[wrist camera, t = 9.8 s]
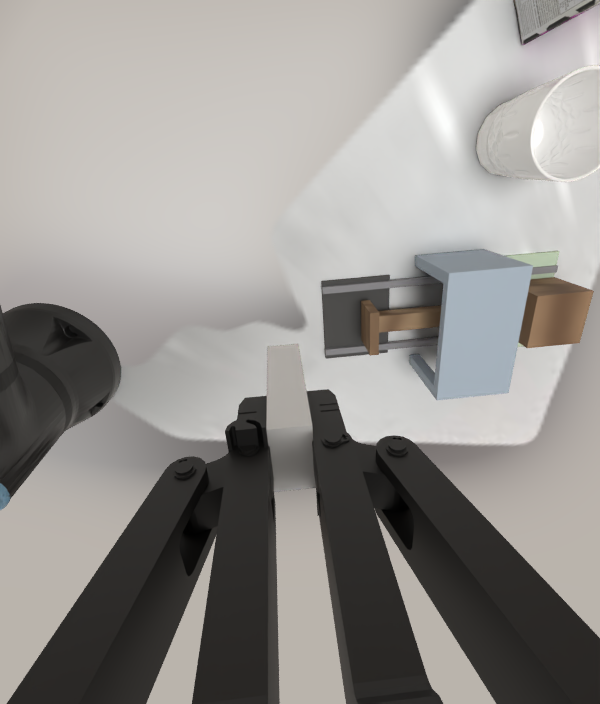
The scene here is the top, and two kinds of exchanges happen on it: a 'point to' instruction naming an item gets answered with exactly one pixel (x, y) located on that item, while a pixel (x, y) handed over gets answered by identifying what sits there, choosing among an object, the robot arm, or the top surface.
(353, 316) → the dark grey flat plate
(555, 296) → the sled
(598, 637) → the robot arm
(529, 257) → the mat
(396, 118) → the top surface
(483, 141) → the white cup
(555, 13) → the candy bar box
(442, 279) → the tunnel
